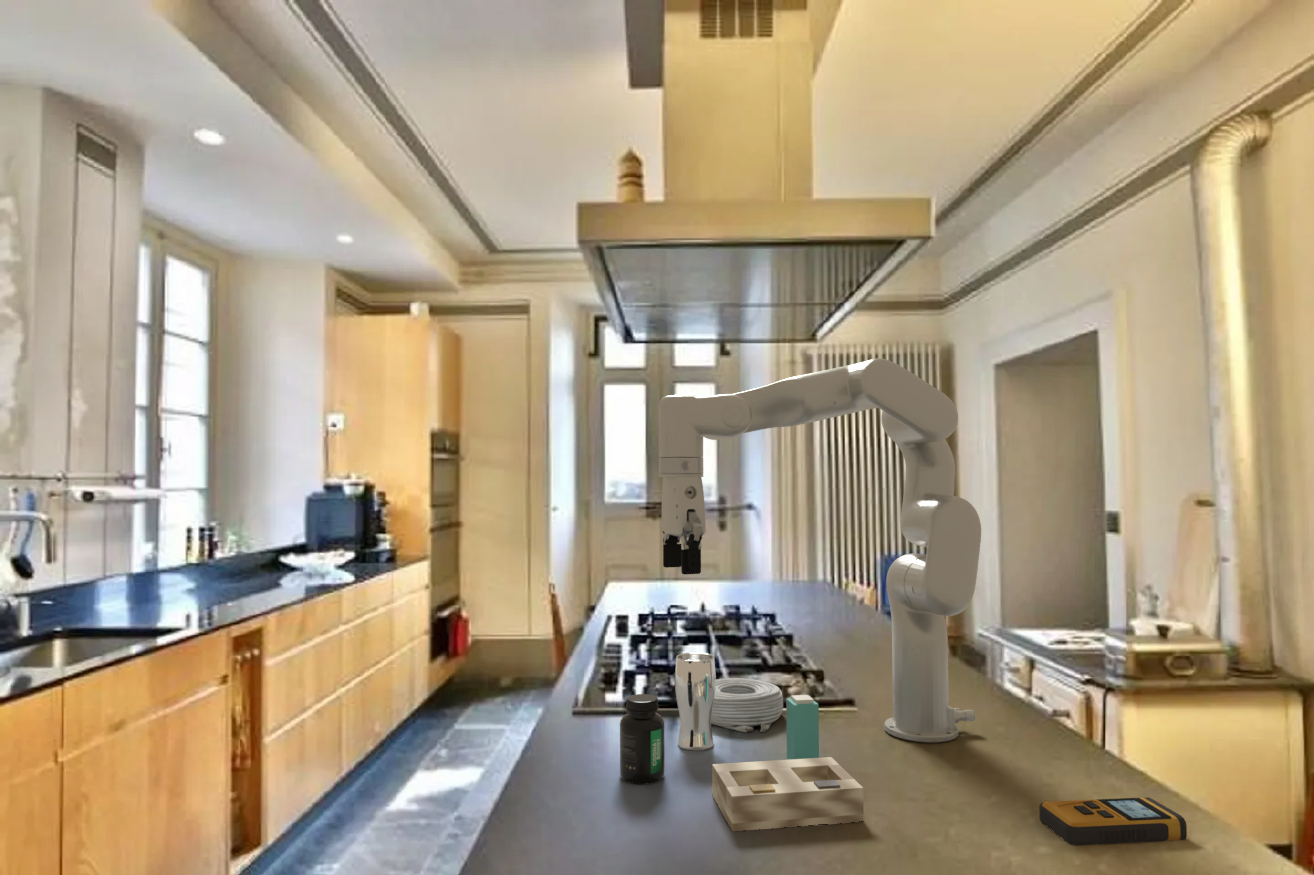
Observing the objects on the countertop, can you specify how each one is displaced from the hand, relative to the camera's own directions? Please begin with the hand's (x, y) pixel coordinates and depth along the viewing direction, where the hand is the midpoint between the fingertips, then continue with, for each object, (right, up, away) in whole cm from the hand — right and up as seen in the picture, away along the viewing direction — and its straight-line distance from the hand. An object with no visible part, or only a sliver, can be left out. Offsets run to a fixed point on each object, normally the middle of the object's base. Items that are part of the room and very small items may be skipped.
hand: (681, 570), depth 140 cm
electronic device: (+55, -30, -31) cm, 70 cm away
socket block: (+14, -29, -24) cm, 40 cm away
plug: (+19, -30, -7) cm, 36 cm away
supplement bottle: (-6, -30, -12) cm, 33 cm away
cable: (+11, -31, +19) cm, 38 cm away
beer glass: (+2, -31, +2) cm, 31 cm away
